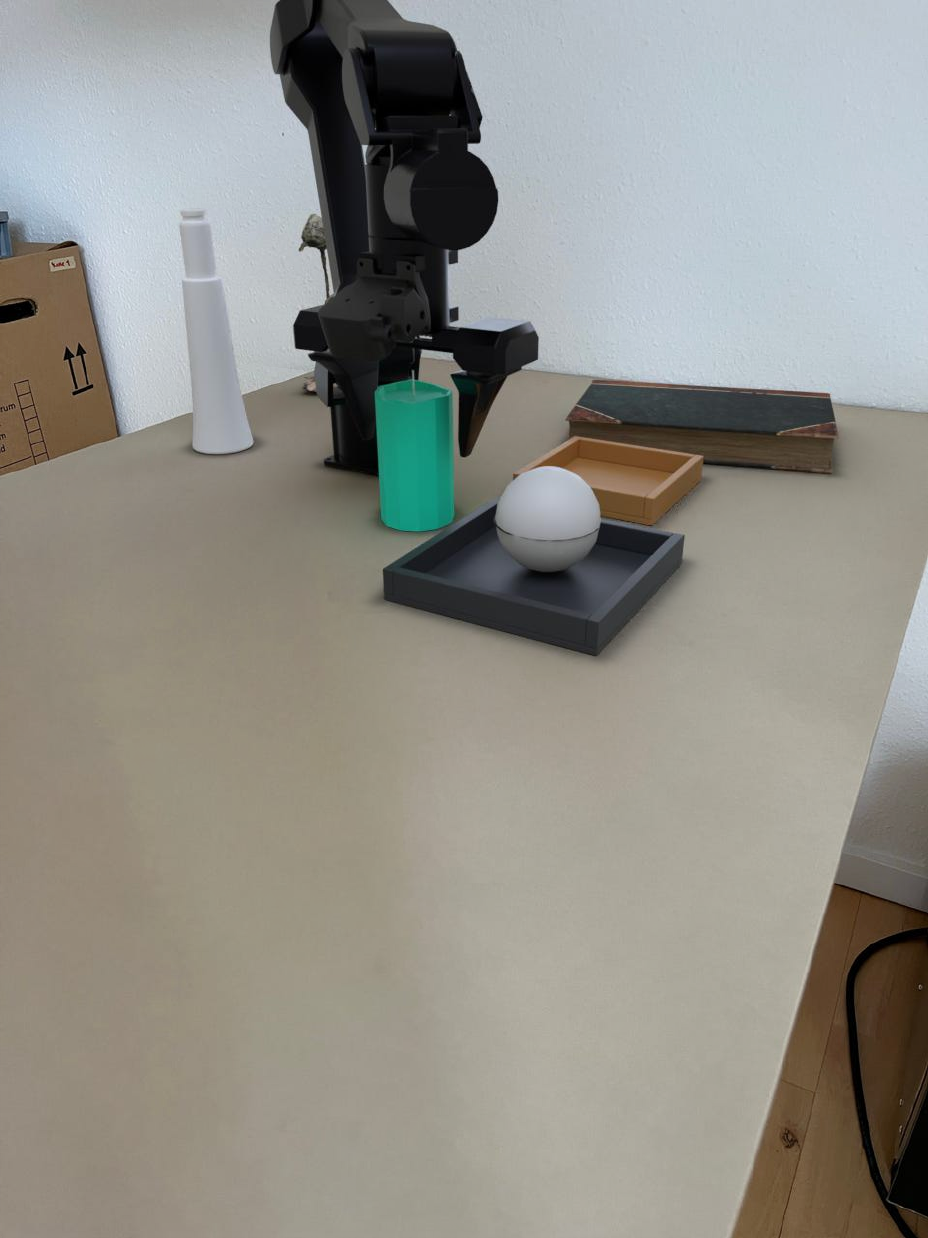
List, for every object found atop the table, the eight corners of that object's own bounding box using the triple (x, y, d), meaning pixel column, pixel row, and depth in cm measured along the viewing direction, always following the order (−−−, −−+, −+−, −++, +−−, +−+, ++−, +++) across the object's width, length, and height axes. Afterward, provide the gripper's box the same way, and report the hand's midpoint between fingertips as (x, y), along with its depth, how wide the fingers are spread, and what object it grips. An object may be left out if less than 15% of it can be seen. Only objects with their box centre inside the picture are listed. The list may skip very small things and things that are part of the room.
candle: (381, 506, 79) (373, 362, 74) (451, 503, 80) (449, 360, 74) (381, 533, 74) (373, 380, 69) (457, 530, 75) (455, 378, 69)
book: (562, 453, 92) (832, 474, 86) (564, 416, 90) (839, 436, 84) (592, 408, 107) (824, 423, 100) (594, 376, 105) (830, 389, 99)
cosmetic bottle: (225, 458, 91) (193, 212, 81) (179, 449, 94) (143, 210, 84) (266, 442, 96) (241, 207, 86) (221, 433, 99) (192, 205, 88)
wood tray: (512, 498, 81) (512, 473, 80) (573, 458, 90) (574, 435, 89) (651, 525, 75) (654, 498, 74) (701, 480, 85) (704, 455, 84)
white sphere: (498, 545, 71) (499, 450, 67) (598, 549, 70) (604, 454, 66) (483, 605, 62) (483, 499, 58) (597, 610, 61) (604, 504, 57)
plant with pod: (383, 399, 111) (375, 215, 102) (292, 395, 113) (276, 214, 104) (400, 382, 118) (394, 209, 109) (314, 379, 120) (301, 208, 111)
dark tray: (384, 599, 64) (382, 568, 63) (494, 524, 76) (494, 497, 75) (596, 656, 57) (598, 622, 56) (681, 563, 69) (685, 534, 67)
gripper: (232, 240, 65) (257, 457, 72) (463, 255, 57) (465, 499, 64) (331, 226, 74) (344, 421, 81) (545, 237, 65) (538, 454, 72)
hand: (415, 447), depth 74 cm, fingers open, 9 cm apart
